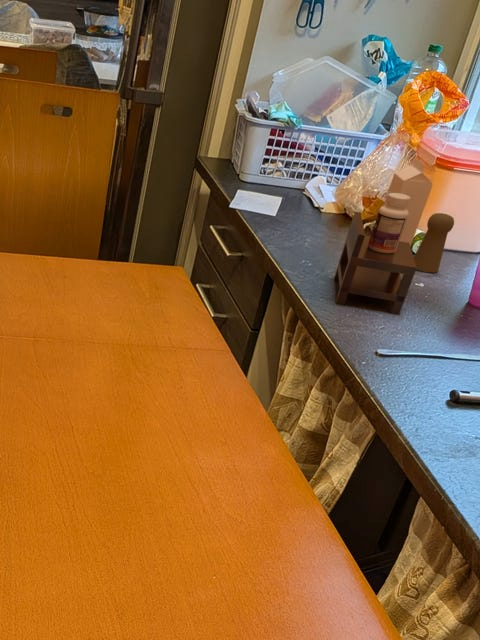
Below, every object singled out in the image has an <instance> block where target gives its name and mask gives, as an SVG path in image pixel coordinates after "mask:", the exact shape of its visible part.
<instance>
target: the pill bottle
mask: <svg viewBox="0 0 480 640" xmlns="http://www.w3.org/2000/svg"><path fill="white" fill-rule="evenodd" d="M387 194H388V193H387ZM386 197H387V196H386ZM385 200H386V199H385ZM409 200H410V197H409V196H407V195H404V194H400V193H389V194H388V197H387V200H386V203H387V204H386V205H384V204H383V205H382V206H381V207H380V208H379V210H378V212H377V215H376V218H375V222H374V225H373V228H372V231H371V234H370V236H371V237H370V240H369V243H368V247H369V249H371V250H373V251H376V252H380V253H387V254H390V253H394V252H395V251H396V249H397V247H398V244H399V241H400V238H401V235H402V232H403V229H404V226H405V224H406V221H407V218H408V214H409V213H408V210H407V209H406V206H408V204H409Z"/></svg>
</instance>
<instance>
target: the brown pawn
mask: <svg viewBox="0 0 480 640" xmlns="http://www.w3.org/2000/svg"><path fill="white" fill-rule="evenodd" d="M426 224H427V225H426V226H427V230H426V232H425V233H424V237H422V240H421V242H420V244H419V246H418V248H417V250H416V252H415V254H414V255H413V257H414V261H415V264H416V267H417V268H416V270H417V271H419V272H425V273H438V272H439V269H440V266H441V263H442V258H443V254H444V250H445V245H446V241H447V238H448V234H449V233H450V232H451V231H452V230H453V228H454V225H455V219H454V217H453V216H452V215H450V214H447V213H442V212H441V213H440V212H436V213H432V215H430V216H429V218H428V219H427V223H426Z"/></svg>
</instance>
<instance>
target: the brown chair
mask: <svg viewBox="0 0 480 640" xmlns="http://www.w3.org/2000/svg"><path fill="white" fill-rule="evenodd" d="M353 213H354V214H353V217H352V219H351V224H350V226H349V229H348V233H347V235H346V238H345V241H344V245H343V248H342V251H341V254H340V257H339V260H338V263H337V266H336V270H335V273H334V275H333V281H337V282H338V286H339V289H338V293H337V296H336V299H335V304H336V305H339V306H345V304H346V301H347V298H348V295H349V294H351V295H357V296H363V297H369V298H374V299H381V300H385V301H391V302H392V303H391V307H390V309H389V314H391V315H395V316H400V314H401V311H402V308H403V306H404V303H405V300H406V297H407V295H408V292H409V289H410V287H411V284H412V281H413V279H414V276H415V273H416V268H417V267H416V264H415V261H414V255H413V251H412V246H411V247H410V244H409V243H407V242H401V241H399V244H398V247H397V249H396V251H395V252H394V253H390V254H387V253H380V252H376V251H373V250H371V249H369V247H368V243H369V240H370V237H371V235H366V232H365V228H364V222H363V217H362V216H363V215H362V212H361V211H354V212H353ZM400 273H401V274H402V276H401V274H400Z"/></svg>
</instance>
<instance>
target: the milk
mask: <svg viewBox="0 0 480 640" xmlns="http://www.w3.org/2000/svg"><path fill="white" fill-rule="evenodd" d="M425 165H426V164H425V163H424V162H423V161H422V160H420V159H419V158H417V157H414V158H413V160H412V162H411V164H410V165H408V166H407V167H404V168H402V169H400V170H398V171H396V172H394V173H393V176H392V179H391V182H390V185H389V188H388V191H387V194H386V197H385V201H384V203H383V206H384V205H386V204H387V203H386V200H387V197H388V194H389V193H400V194H404V195H407V196H409V197H410V200H409V204H408V206H406V209H407V210H408V213H409V214H408V218H407V221H406V224H405V226H404V229H403V232H402V235H401V238H400V241H401V242H407V243H409V244H410V247H411V248H412V244H413V241H414V238H415V235H416V233H417V230H418V227H419V224H420V221H421V219H422V216H423V213H424V211H425V207H426V204H427V202H428V199H429V196H430V193H431V191H432V188H433V185H434V182H432V181H431V180H430V178H429V177H427V176H426V175H425V173H423V172H424V168H425ZM400 275H401V273H400Z"/></svg>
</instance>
